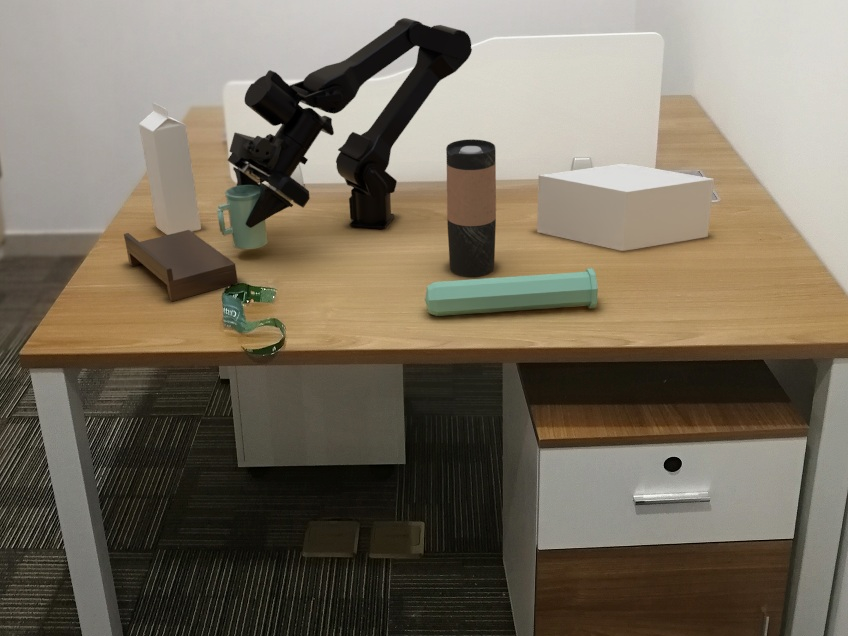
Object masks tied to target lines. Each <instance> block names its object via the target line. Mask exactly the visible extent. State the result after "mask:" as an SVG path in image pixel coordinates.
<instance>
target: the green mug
mask: <svg viewBox="0 0 848 636" xmlns="http://www.w3.org/2000/svg"><path fill="white" fill-rule="evenodd" d="M224 194H225V199H226V203H222V204H219V205H217V210H216V215H217V221H218V227H219V233H221V235H223V236H228V235H230V236H231V241H232V246H233V247H234V248H235V249H239V250H254V249H255V250H256V249H259V248H262V247H264V246H266V245H267V244H268V241H269V238H268V231H267V222H266V219H265V220H264V221H262V222H260V223H259V224H257V225H255V226H254V227H252V228H249V227H248V226H246V221H247V219H248V217H249V215H250V213H251V211H252V210H253V208H254V206H255V204H256V202H257V200H258V198H259V197H260V187H259V186H255V185H239V186H237V185H235V186H232V187H229V188H227V189H226V190H225V192H224ZM225 211H227V213H228V220H229V227H228V228H226V223H225V218H224V217H225V216H224V212H225Z"/></svg>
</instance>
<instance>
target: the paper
mask: <svg viewBox="0 0 848 636" xmlns="http://www.w3.org/2000/svg"><path fill="white" fill-rule="evenodd" d="M537 179H538V180H537V215H536V216H537V218H536V233H538V234H544V235H548V236H553V237H557V238H561V239H565V240H566V239H567V240H571V241H574V242H575V241H576V242H580V243H584V244H588V245H593V246H598V247H602V248H607V249H611V250H616V251H621V252H625V251H632V250H637V249H644V248H649V247H656V246H661V245H662V246H663V245H669V244H675V243H680V242H686V241H691V240H692V241H693V240H698V239H702V238H703V239H704V238H709V237H708V236H709V229H710V228H709V227H710V220H711V211H712V203H713V194H714V187H715V186H714V183H715V178H712V177H711V178H710V177H704V176H699V175H693V174H688V173H682V172H677V171H670V170H665V169H659V168H654V167H647V166H642V165H638V164H637V165H636V164H630V163H625V162H624V163H623V162H622V163H617V164H611V165H610V164H609V165H602V166H595V167H587V168H579V169H573V170H565V171H559V172H552V173H545V174H538V178H537Z"/></svg>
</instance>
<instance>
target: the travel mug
mask: <svg viewBox="0 0 848 636" xmlns="http://www.w3.org/2000/svg"><path fill="white" fill-rule="evenodd" d="M445 151H446V221H447V240H448V257H449V268H450V271H451V272H452V273H453V274H455V275H457V276H460V277H467V278H475V277H483V276H486V275H489V274H490V273H492V272H493V270H494V268H495V255H496V254H495V253H496V229H497V225H496V224H497V194H496V193H497V183H496V181H497V178H496V176H497V175H496V171H497V170H496V164H497V162H496V160H497V159H496V154H497V153H496V152H497V151H496V145H495V144H494V143H493V142H492V141H489V140H485V139H484V140H483V139H473V138H472V139H470V138H469V139H461V140H456V141H452V142H450V143H449V144H447V146H446V148H445Z"/></svg>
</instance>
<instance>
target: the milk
mask: <svg viewBox="0 0 848 636" xmlns="http://www.w3.org/2000/svg"><path fill="white" fill-rule="evenodd" d="M151 103H152V104H151V105H152V111H151V113H149V114H148V115H146V117H145V118H144V119H142V120H141V121H140V122H139V123H138V126H139V127H138V128H139V132H140V138H141V145H142V150H143V156H144V160H145V162H144V163H145V167H146V174H147V180H148V185H149V190H150V196H151V201H152V202H151V203H152V208H153V215H154V220H155V226H156V228H157V229H158V230H159V231H161V232H162V233H163V234H165V236H166V235H170V234H174V233H178V232H182V231H186V230H190V231H191V232H193V233H194V232H197V231H201V230H202V223H201V218H200V212H199V205H198V199H197V192H196V191H197V190H196V185H195V178H194V177H195V176H194V171H193V165H192V157H191V151H190V150H191V149H190V144H189V137H188V130H187V125H186V124H185V123H183V122H182V121H180V120H177V119H176V118H174V117H172V116H169V115H168V110H167V108H166V107H164V106H162V105H160V104H158V103H156V102H154V101H152V102H151Z"/></svg>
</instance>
